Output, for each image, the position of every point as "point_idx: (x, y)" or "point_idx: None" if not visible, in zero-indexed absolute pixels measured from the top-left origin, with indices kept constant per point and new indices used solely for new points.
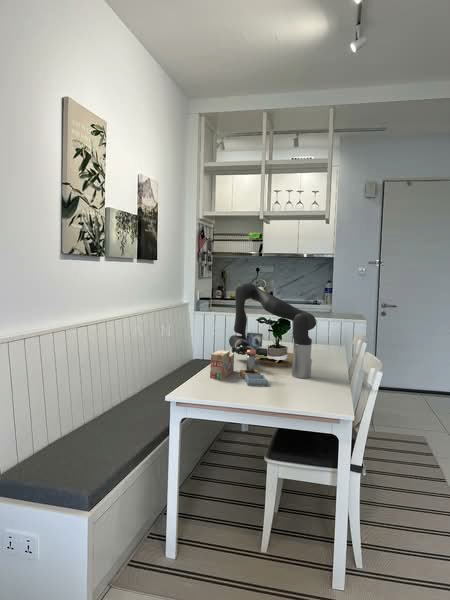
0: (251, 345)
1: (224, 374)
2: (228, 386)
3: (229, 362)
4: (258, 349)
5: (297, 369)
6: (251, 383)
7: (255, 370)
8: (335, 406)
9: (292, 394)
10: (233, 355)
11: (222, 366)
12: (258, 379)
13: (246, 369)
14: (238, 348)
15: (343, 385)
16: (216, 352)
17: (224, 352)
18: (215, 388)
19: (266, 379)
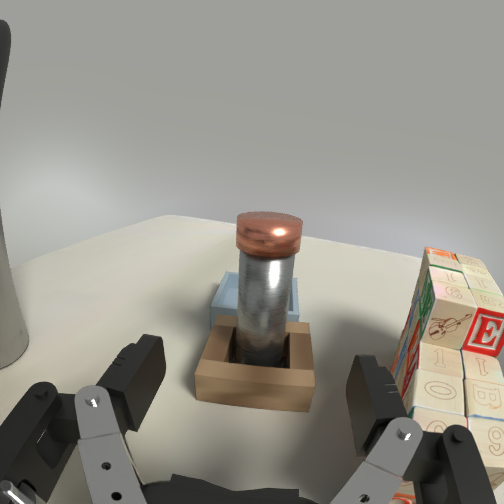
0: None
1: (395, 361)
2: (358, 294)
3: (403, 383)
4: (39, 384)
5: (18, 303)
6: None
7: (212, 367)
8: (157, 224)
9: (191, 252)
10: None
11: (412, 299)
12: None
13: (284, 336)
14: (381, 436)
15: None
16: (481, 273)
17: (446, 272)
18: (389, 285)
19: (228, 272)
